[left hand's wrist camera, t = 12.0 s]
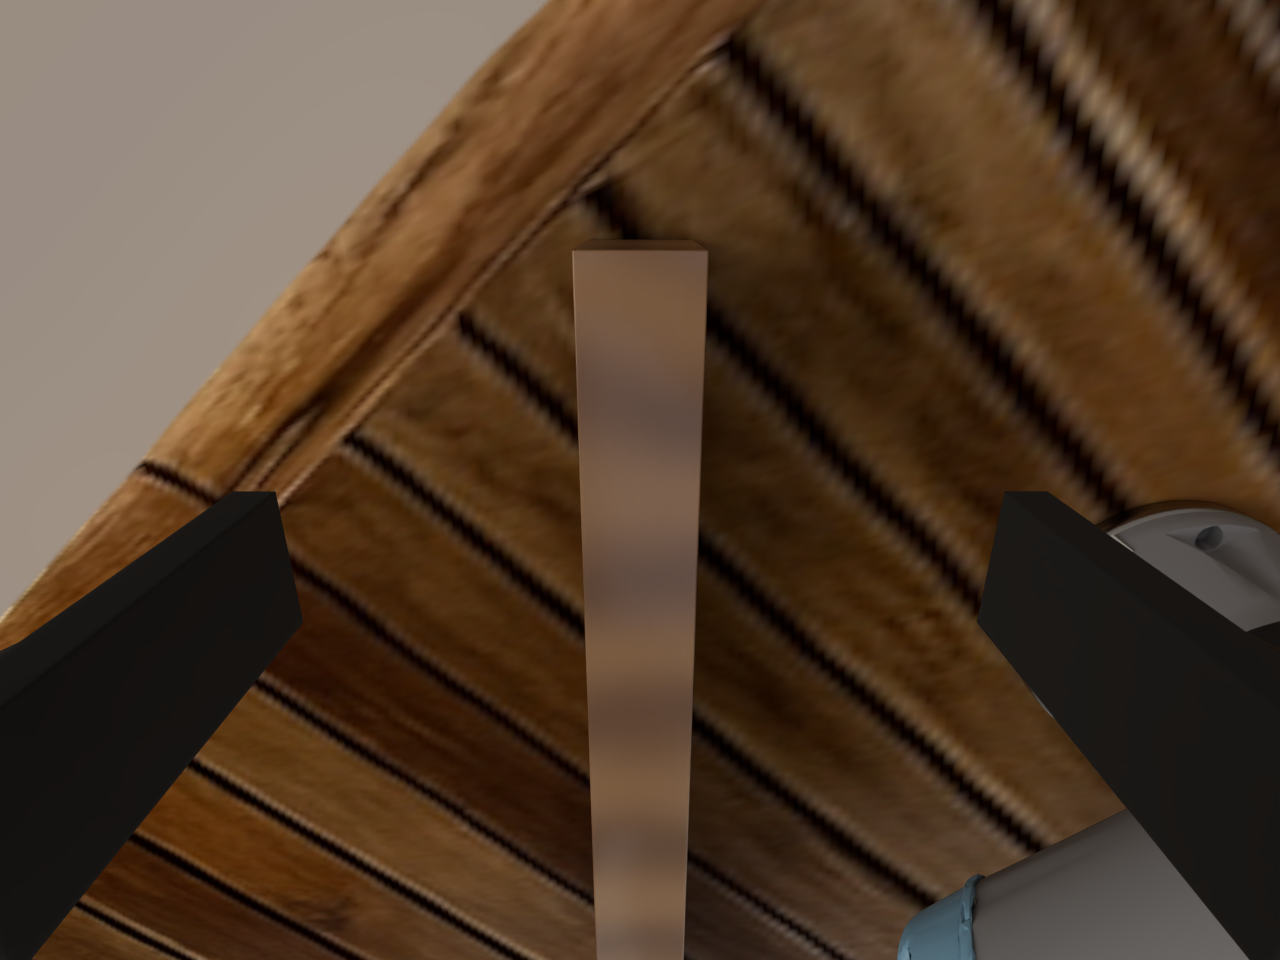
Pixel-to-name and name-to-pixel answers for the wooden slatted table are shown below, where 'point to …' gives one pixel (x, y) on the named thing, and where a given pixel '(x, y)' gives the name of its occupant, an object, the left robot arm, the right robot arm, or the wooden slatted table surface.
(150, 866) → the wooden slatted table surface
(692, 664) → the beam
